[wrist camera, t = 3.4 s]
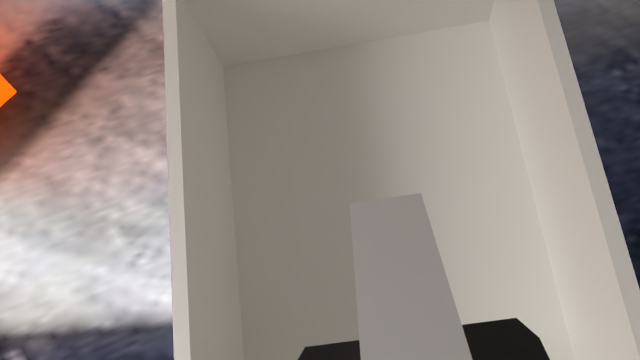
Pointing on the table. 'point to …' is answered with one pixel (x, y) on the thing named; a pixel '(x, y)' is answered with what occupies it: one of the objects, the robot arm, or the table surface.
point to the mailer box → (383, 170)
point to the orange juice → (5, 90)
